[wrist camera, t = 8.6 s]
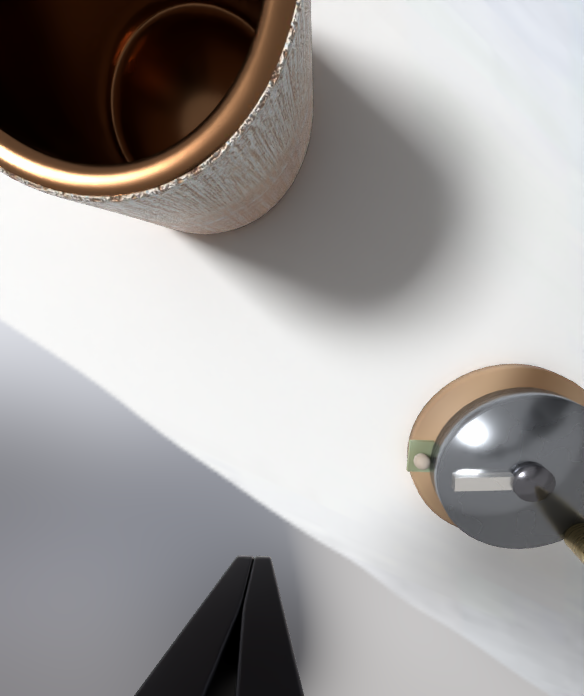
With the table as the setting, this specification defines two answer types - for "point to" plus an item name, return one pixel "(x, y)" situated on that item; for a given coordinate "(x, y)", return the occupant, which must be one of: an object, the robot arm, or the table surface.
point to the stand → (460, 396)
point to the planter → (158, 105)
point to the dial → (514, 469)
